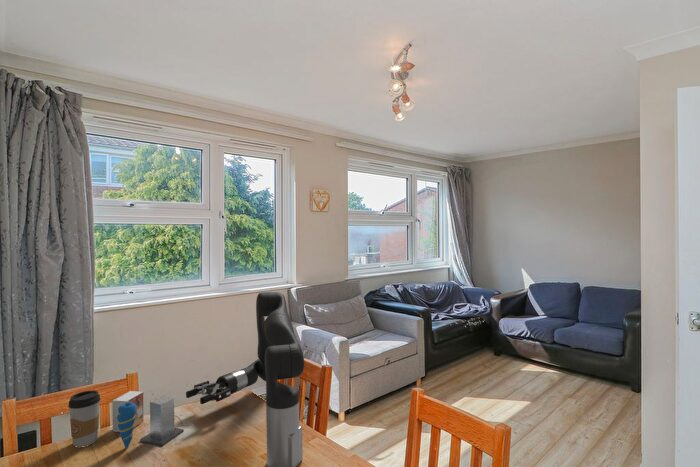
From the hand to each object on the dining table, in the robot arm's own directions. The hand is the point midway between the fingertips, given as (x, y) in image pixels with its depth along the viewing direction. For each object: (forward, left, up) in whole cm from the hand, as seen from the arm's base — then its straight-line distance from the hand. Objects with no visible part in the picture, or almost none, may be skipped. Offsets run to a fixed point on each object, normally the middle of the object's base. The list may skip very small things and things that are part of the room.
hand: (193, 398), depth 134 cm
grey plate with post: (+3, +11, -9) cm, 14 cm away
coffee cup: (+23, +22, -9) cm, 33 cm away
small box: (+19, +10, -9) cm, 23 cm away
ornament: (+8, +19, -9) cm, 23 cm away
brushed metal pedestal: (+3, +11, -8) cm, 13 cm away
